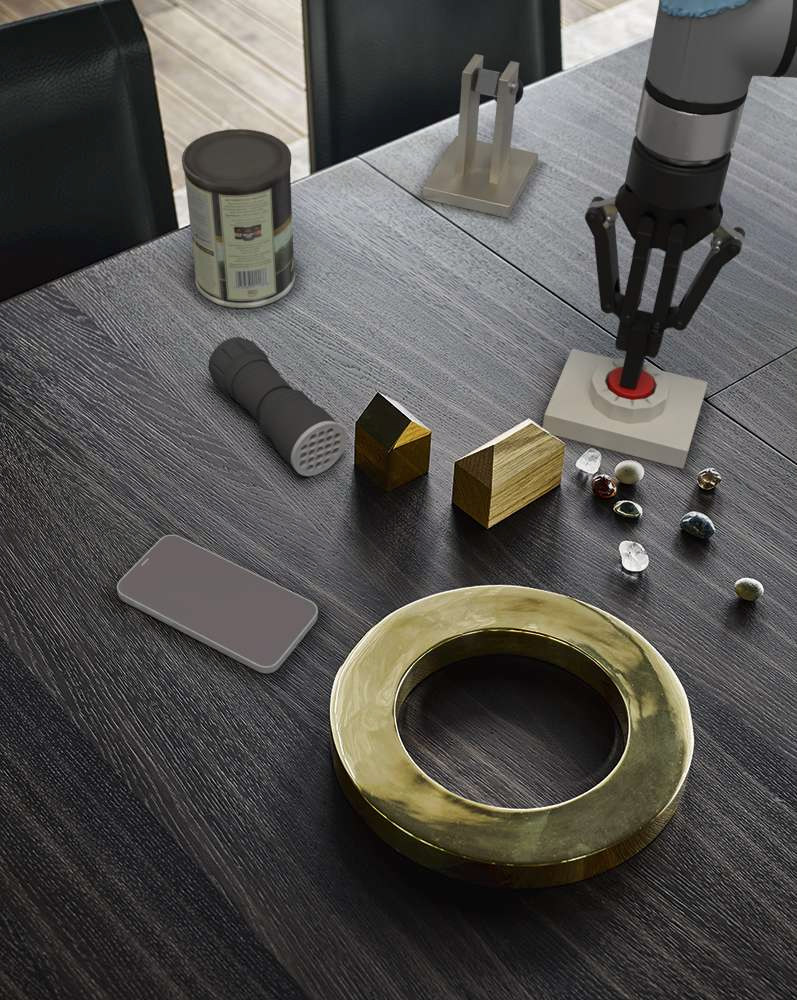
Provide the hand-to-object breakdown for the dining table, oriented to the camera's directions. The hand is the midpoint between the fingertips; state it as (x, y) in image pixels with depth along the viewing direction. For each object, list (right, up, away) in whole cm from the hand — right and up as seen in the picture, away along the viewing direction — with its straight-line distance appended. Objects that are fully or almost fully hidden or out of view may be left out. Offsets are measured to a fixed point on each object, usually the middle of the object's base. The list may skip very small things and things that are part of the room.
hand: (630, 378), depth 112 cm
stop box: (0, -3, +3) cm, 5 cm away
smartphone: (-35, -19, -14) cm, 42 cm away
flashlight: (-32, -4, +1) cm, 32 cm away
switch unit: (-11, +25, +30) cm, 41 cm away
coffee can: (-37, +12, +16) cm, 42 cm away
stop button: (0, -1, +1) cm, 2 cm away
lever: (-10, +33, +27) cm, 44 cm away
